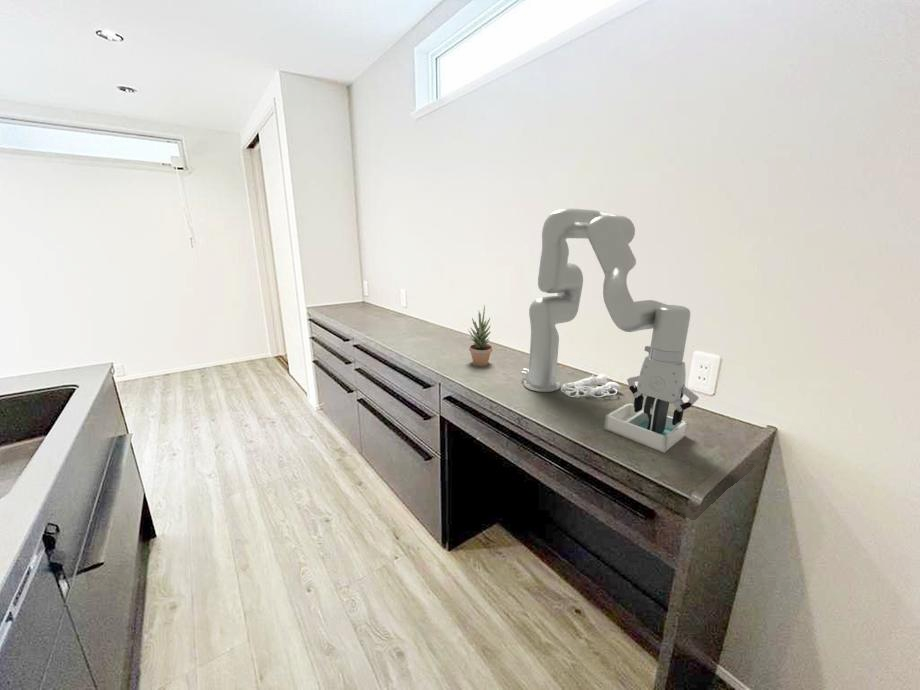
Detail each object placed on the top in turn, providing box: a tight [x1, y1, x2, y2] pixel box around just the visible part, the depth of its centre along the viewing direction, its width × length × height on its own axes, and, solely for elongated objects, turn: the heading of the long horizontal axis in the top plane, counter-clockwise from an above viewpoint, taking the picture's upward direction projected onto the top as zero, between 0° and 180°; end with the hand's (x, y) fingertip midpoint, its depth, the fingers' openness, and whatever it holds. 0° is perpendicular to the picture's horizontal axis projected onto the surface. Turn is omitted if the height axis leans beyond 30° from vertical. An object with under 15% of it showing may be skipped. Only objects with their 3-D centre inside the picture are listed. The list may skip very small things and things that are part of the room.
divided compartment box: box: [603, 402, 688, 453], centre depth 104 cm, size 16×13×4 cm
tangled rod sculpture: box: [560, 373, 622, 399], centre depth 131 cm, size 19×14×4 cm
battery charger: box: [643, 396, 670, 434], centre depth 101 cm, size 7×4×11 cm, turn 128°
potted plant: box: [468, 304, 493, 367], centre depth 157 cm, size 10×10×25 cm
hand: (656, 416), depth 101 cm, fingers open, 9 cm apart
